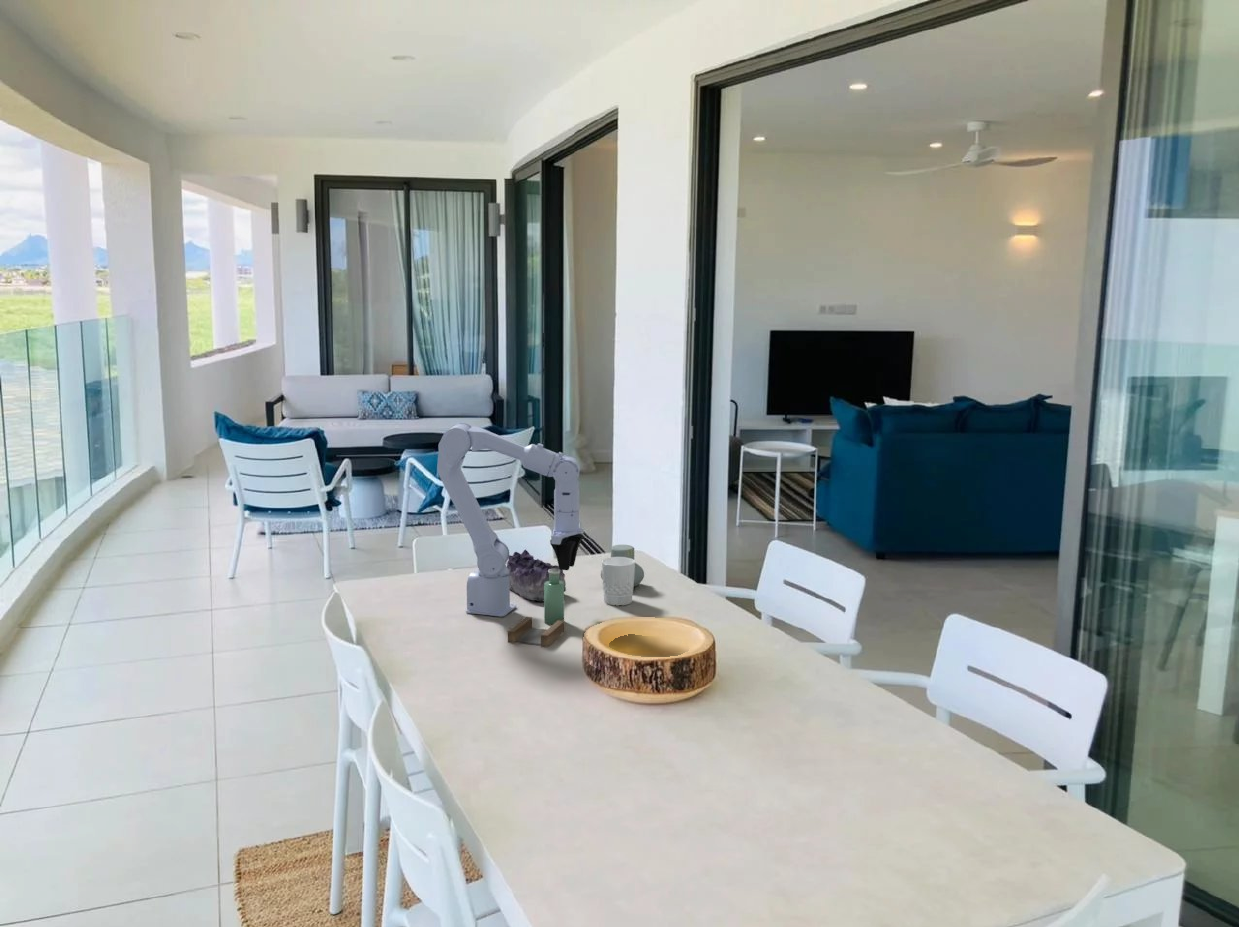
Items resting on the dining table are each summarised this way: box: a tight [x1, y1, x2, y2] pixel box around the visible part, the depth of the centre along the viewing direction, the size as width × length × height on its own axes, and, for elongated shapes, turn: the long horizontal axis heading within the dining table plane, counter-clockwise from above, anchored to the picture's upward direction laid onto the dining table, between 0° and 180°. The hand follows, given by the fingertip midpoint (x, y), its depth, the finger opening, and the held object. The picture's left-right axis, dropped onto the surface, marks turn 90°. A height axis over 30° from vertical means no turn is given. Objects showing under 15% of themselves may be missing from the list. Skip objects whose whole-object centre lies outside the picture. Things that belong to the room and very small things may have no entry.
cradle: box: [507, 616, 565, 648], centre depth 216 cm, size 9×10×2 cm
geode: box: [506, 549, 567, 603], centre depth 248 cm, size 20×12×10 cm, turn 38°
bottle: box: [543, 569, 565, 626], centre depth 225 cm, size 4×4×12 cm
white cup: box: [601, 556, 636, 607], centre depth 240 cm, size 8×8×10 cm
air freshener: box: [600, 544, 645, 587], centre depth 254 cm, size 11×8×10 cm
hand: (566, 567), depth 232 cm, fingers open, 3 cm apart
